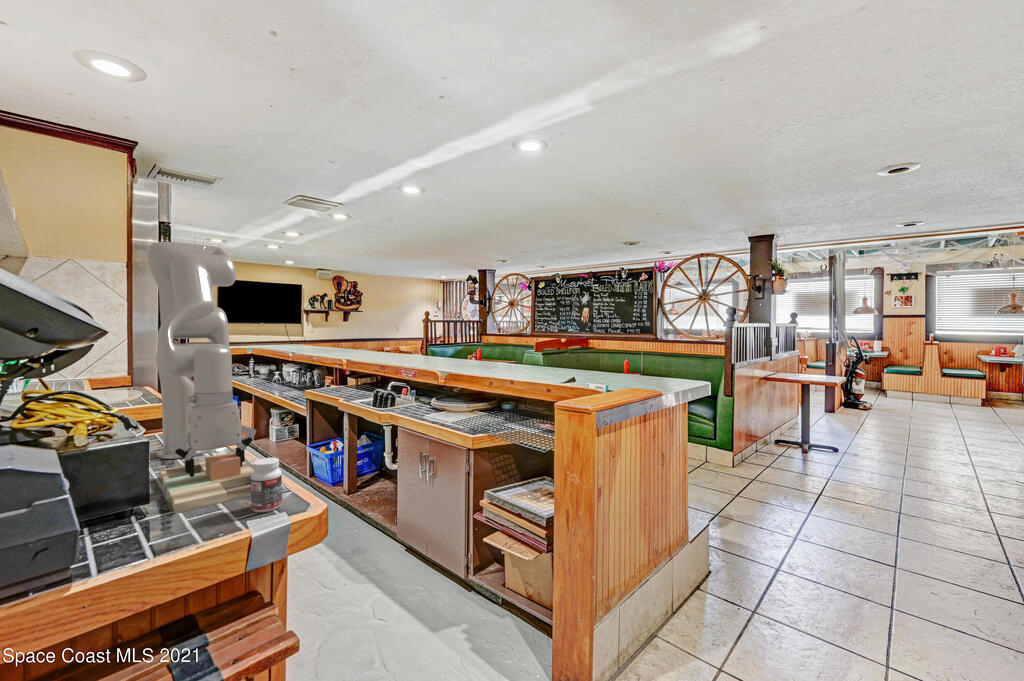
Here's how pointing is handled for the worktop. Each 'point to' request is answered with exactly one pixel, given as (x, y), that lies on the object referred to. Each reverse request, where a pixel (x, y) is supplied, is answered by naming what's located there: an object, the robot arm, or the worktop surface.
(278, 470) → the pill bottle
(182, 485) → the board
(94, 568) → the worktop surface
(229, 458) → the block
